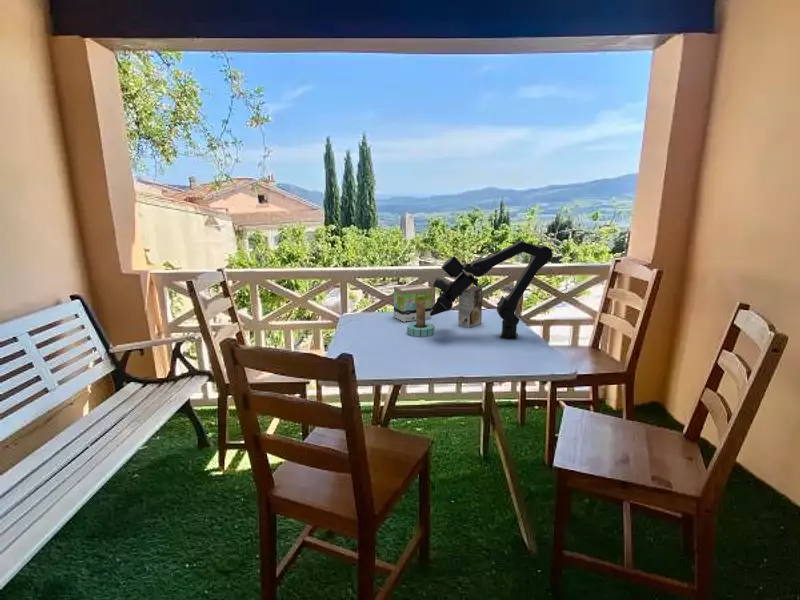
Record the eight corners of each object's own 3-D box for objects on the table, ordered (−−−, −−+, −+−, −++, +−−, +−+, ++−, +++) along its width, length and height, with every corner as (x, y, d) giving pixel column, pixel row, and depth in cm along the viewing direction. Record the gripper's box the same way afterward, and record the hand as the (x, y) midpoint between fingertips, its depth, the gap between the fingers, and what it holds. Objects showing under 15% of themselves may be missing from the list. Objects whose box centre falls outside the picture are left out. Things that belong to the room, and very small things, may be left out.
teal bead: (412, 328, 196) (412, 321, 195) (437, 330, 192) (437, 323, 191) (403, 335, 185) (403, 328, 185) (430, 338, 182) (430, 330, 181)
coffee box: (469, 321, 205) (470, 285, 202) (481, 323, 201) (483, 287, 197) (457, 325, 199) (458, 289, 195) (469, 328, 195) (470, 291, 191)
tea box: (403, 323, 203) (403, 290, 200) (393, 317, 212) (392, 286, 209) (432, 318, 210) (432, 287, 207) (421, 313, 219) (421, 283, 216)
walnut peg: (420, 331, 191) (420, 300, 188) (427, 332, 189) (427, 302, 186) (414, 332, 189) (414, 302, 186) (421, 334, 186) (421, 303, 183)
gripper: (446, 267, 188) (420, 293, 193) (443, 275, 170) (414, 303, 175) (465, 286, 189) (438, 311, 193) (464, 296, 171) (434, 323, 175)
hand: (431, 312), depth 184 cm, fingers open, 9 cm apart
